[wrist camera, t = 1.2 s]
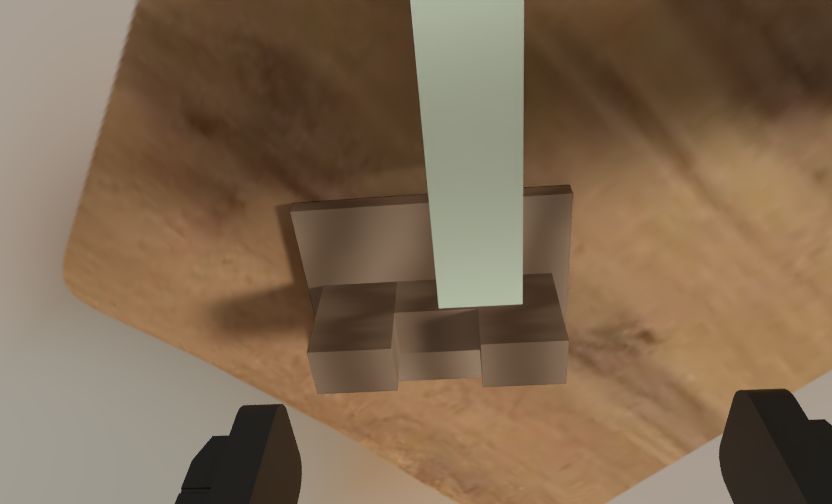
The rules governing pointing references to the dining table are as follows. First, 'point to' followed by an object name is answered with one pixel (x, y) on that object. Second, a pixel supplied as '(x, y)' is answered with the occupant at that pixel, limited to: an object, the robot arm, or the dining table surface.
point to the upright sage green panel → (473, 145)
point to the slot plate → (427, 298)
